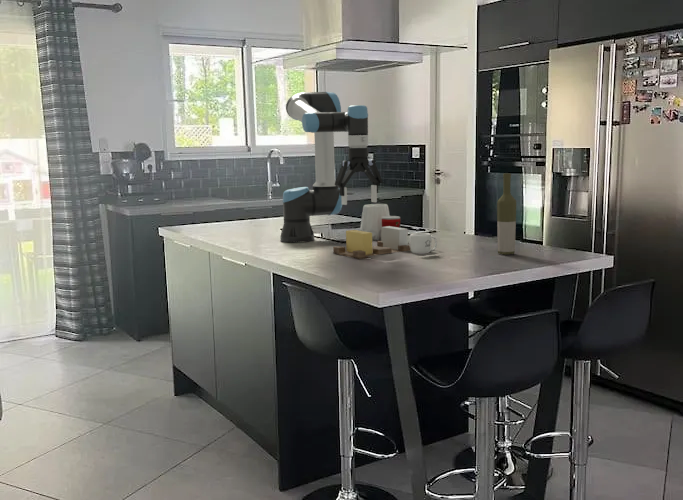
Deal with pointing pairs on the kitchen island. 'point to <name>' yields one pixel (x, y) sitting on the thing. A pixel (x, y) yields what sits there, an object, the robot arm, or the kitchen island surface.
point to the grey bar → (394, 237)
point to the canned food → (391, 221)
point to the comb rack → (375, 251)
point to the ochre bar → (358, 241)
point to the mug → (421, 243)
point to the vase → (373, 219)
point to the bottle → (506, 219)
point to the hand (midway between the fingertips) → (359, 203)
